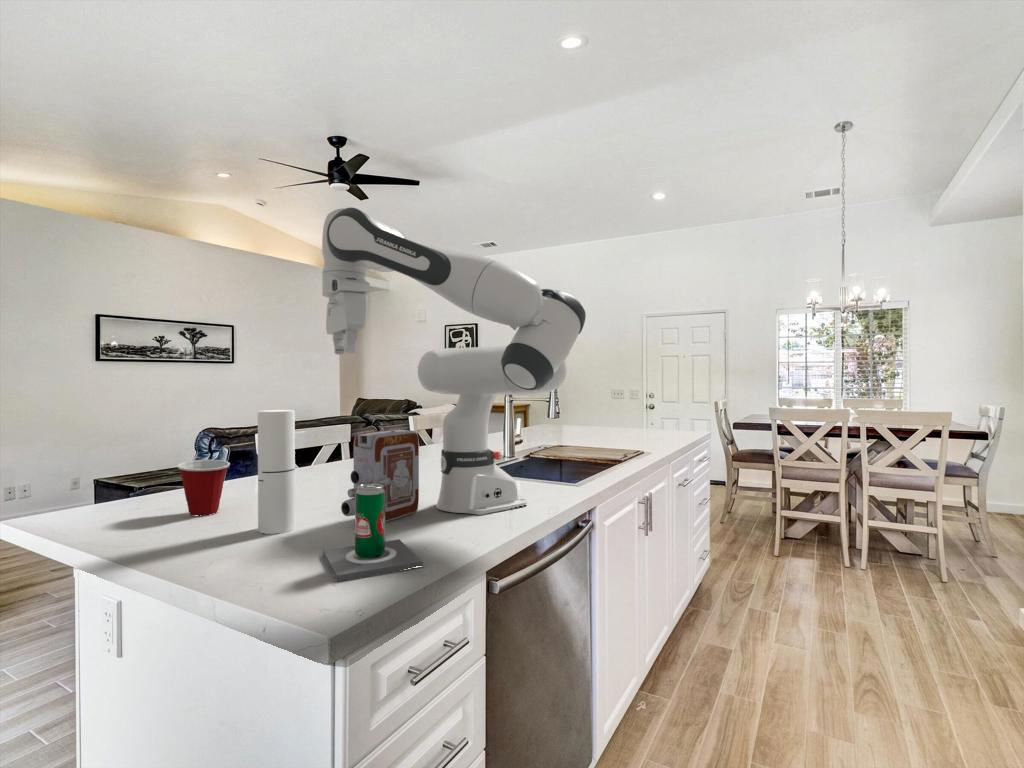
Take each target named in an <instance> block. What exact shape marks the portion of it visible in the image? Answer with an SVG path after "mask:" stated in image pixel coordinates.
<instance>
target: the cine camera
mask: <svg viewBox="0 0 1024 768" xmlns="http://www.w3.org/2000/svg"><path fill="white" fill-rule="evenodd" d="M419 440H420V439H419V435H418V432H416V431H415V430H407V429H397V428H396V429H386V430H378V431H377V430H376V431H368V432H360V433H358V434H357V435H355V437H354V440H353V470H352V471H351V473H350V481H351V482H352V484H353V488H349V489H348V490H347V497H348V499H346V500H344V501H343V502H342V503H341V506H340V509H341V513H342V514H343V516H346V517H351V516H352V517H354V516H355V493H356V491H357V490H358V486H359V485H363V484H381V485H383V489H384V490H385V492H386V496H385V523H386V522H387V523H388V522H390V521H394V520H397V519H400V518H404V517H406V516H410V515H413V514H415V513H416V512H417V511H418V508H419V500H420V499H419V498H420V496H419V495H420V493H419V492H420V491H419V489H420V486H419V485H420V481H419V480H420V476H419V474H420V472H419V471H420V467H419V465H420V464H419V463H420V455H419V453H420V451H419V450H420V448H419V447H420V446H419Z"/></svg>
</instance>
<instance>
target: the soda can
mask: <svg viewBox="0 0 1024 768" xmlns="http://www.w3.org/2000/svg"><path fill="white" fill-rule="evenodd" d="M385 496H386V492H385V490H384V489H383V485H381V484H363V485H359V486H358V490H357V491H356V493H355V515H354V517H355V518H354V546H355V554H356V555H357V556H358V557H360V558H364V559H370V558H376V557H379V556H381V555H382V554H383V553H384V551H385V541H386V522H385Z"/></svg>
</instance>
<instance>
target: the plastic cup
mask: <svg viewBox="0 0 1024 768" xmlns="http://www.w3.org/2000/svg"><path fill="white" fill-rule="evenodd" d="M230 465H231V463H230V462H228V461H227V460H221V459H195V460H189V461H183V462H180V463H178V464H177V466H176V467H177V469H178V470H179V473H180V475H181V476H180V477H181V481H182V485H183V489H184V496H185V501H186V503H187V504H186V505H187V508H188V513H189V515H190V514H191V515H198V516H197V517H201V516H200V515H207V516H210V515H209V514H212V515H214V514H213V513H215V514H217V513H218V512H217V511H219V509H220V508H219V507H220V502H221V498H222V493H223V487H224V482H225V476H226V474H227V470H228V468H229V467H230ZM216 512H217V513H216ZM191 515H190V516H191Z"/></svg>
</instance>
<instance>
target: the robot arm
mask: <svg viewBox="0 0 1024 768" xmlns="http://www.w3.org/2000/svg"><path fill="white" fill-rule="evenodd" d="M321 240H322V242H321V248H322V249H321V251H322V253H321V254H322V256H323V261H324V262H323V263H324V264H323V268H322V272H321V274H322V275H321V276H322V277H321V278H322V287H321V289H322V290H321V292H322V296H323V297H325V298H328V302H327V304H326V316H325V317H326V318H325V319H326V323H325V324H326V325H325V330H326V334H327V335H330V336H331V335H332V343H333V347H334V354H335V355H344V354H345V353H346V354H354V353H355V352H356V343H357V339H358V331H360V330H364V329H365V327H366V322H367V316H368V315H367V313H368V294H370V292H371V290H370V289H371V284H370V282H368V281H367V276H366V275H367V271H368V270H374V271H378V272H381V273H386V272H387V273H388V272H397V273H400V274H402V275H403V276H407V277H409V278H411V279H413V280H415V281H416V282H418V283H420V284H421V285H423V286H425V287H427V288H428V289H429V290H431V291H433V292H435V293H436V294H438V295H439V296H440V297H442V298H444V299H445V300H447V301H448V302H450V303H452V304H453V305H454V306H456V307H458V308H459V309H461V310H464V311H465V312H468V313H469V314H472V315H474V316H477V317H479V318H481V319H484V320H487V321H491V322H493V323H497V324H501V325H505V326H509V328H511V329H513V330H514V331H516V332H515V334H514V336H513V337H512V339H511V341H510V343H509V344H507V345H506V346H505V345H504V346H488V347H487V346H480V347H478V346H476V347H473V346H472V347H448V348H447V347H446V348H440V349H434V350H429V351H427V352H425V353H424V354H423V355H422V356H421V357H420V360H419V362H418V366H417V377H418V381H419V383H420V385H421V387H423V389H425V390H426V391H429V392H432V393H436V394H442V395H459V397H458V401H457V402H456V405H455V406H454V408H452V409H451V410H450V411H448V413H446V414H445V416H444V418H443V420H442V431H443V432H442V433H443V434H442V449H441V451H440V452H441V455H440V469H441V473H442V475H441V483H440V489H439V494H438V495H439V496H438V499H437V502H436V505H435V507H436V509H438V510H440V511H443V512H448V513H455V514H456V513H458V514H470V515H486V514H491V513H495V512H496V513H497V512H501V511H507V510H512V509H516V508H515V507H517V508H520V507H519V506H522V507H525V506H524V505H526V504H527V500H526V498H525V497H523V496H520V495H519V493H518V487H517V482H516V481H515V479H514V478H513V477H512V475H510V474H509V473H507V472H506V471H505V470H504V469H502V468H501V467H499V466H498V465H497V464H496V463H495V460H497V461H499V460H501V459H502V457H503V454H502V453H501V451H497V450H494V451H493V450H491V449H490V448H489V447H488V446H489V443H488V442H489V423H490V422H489V421H490V419H489V418H490V415H491V411H492V409H493V405H494V403H495V400H496V398H497V396H498V395H501V396H502V395H504V396H506V395H507V396H511V395H512V396H531V395H532V396H533V395H539V394H545V393H546V394H547V393H549V392H553V391H555V390H557V389H558V388H560V387H561V386H562V385H563V383H564V381H565V379H566V376H567V365H566V361H565V360H566V359H567V357H569V354H570V352H571V350H572V348H573V346H574V344H575V342H576V341H577V339H578V336H579V335H580V334H581V333H582V330H583V329H584V326H585V322H586V315H587V314H586V310H585V309H584V306H583V305H582V303H581V301H579V300H578V299H577V298H576V297H575V296H574V295H572V294H570V293H568V292H564V291H561V290H556V289H555V290H554V289H550V288H541V287H540V284H538V283H537V281H535V280H534V279H532V278H531V277H530V276H528V275H526V274H524V273H523V272H521V271H519V270H518V269H516V268H514V267H511V266H508V265H507V264H504V263H502V262H499V261H497V260H495V259H490V258H488V257H485V256H480V255H477V254H472V253H466V252H460V251H455V250H449V249H444V248H439V247H438V248H437V247H433V246H429V245H425V244H422V243H418V242H415V241H413V240H409V239H407V238H406V237H405V235H404V234H403V233H402V232H401V231H399V230H398V229H397V228H394V227H393V226H391V225H389V224H387V223H385V222H382V221H381V220H378V219H376V218H374V217H372V216H370V215H368V214H367V213H366V212H364V211H362V210H360V209H359V208H355V207H346V208H339V209H338V208H337V209H335V210H332V211H330V212H329V213H328V214H327V215H326V216H325V219H324V223H323V227H322V238H321ZM517 328H518V329H517ZM344 335H345V344H344ZM526 506H527V505H526ZM511 508H512V509H511Z"/></svg>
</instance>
